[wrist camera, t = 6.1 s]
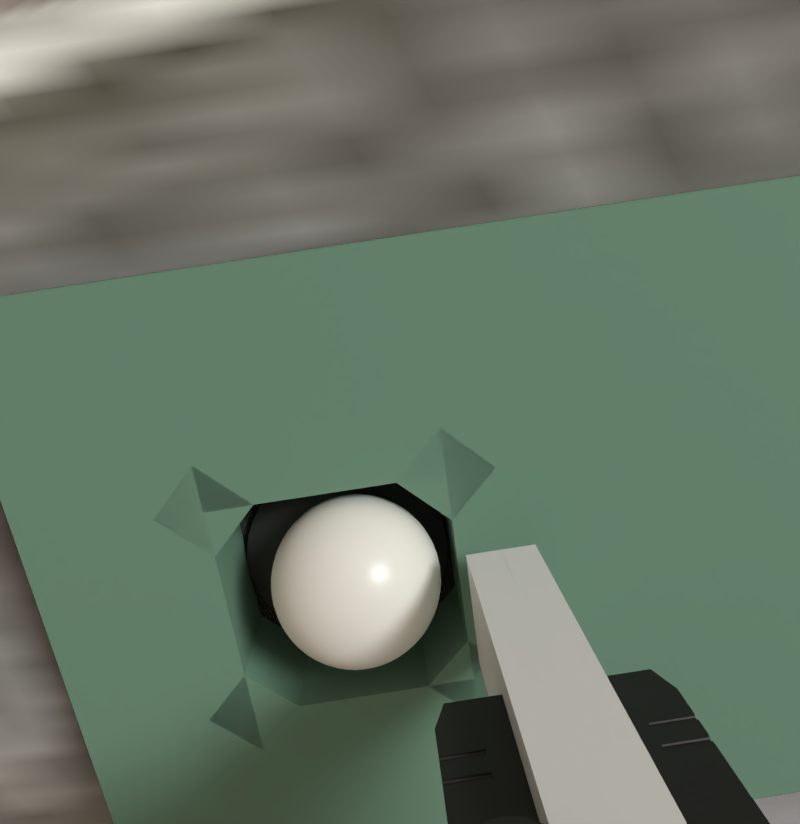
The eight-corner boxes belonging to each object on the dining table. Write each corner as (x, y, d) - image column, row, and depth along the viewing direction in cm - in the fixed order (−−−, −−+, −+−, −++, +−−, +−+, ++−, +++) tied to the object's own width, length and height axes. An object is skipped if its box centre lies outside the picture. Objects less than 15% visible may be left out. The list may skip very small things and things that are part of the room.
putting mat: (1071, 134, 15) (1205, 114, 13) (993, 684, 20) (1081, 747, 17) (2, 295, 15) (-67, 306, 13) (167, 814, 19) (139, 895, 17)
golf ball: (449, 506, 17) (493, 584, 13) (380, 624, 18) (403, 732, 14) (316, 445, 16) (322, 511, 12) (248, 574, 17) (233, 675, 13)
